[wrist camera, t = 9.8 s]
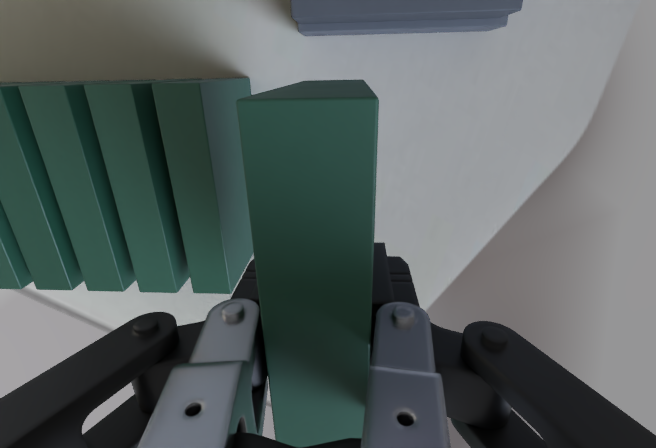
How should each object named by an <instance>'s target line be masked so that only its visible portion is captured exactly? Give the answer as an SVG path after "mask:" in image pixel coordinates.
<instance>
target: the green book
mask: <svg viewBox="0 0 656 448" xmlns="http://www.w3.org/2000/svg"><path fill="white" fill-rule="evenodd" d="M236 107H237V115H238V124H239V132H240V141H241V150H242V158H243V167H244V175H245V184H246V192H247V201H248V209H249V218H250V226H251V235H252V243H253V252H254V260H255V269H256V277H257V286H258V294H259V303H260V311H261V320H262V328H263V337H264V345H265V354H266V362H267V371H268V379H269V388H270V396H271V405H272V413H273V422H274V430H275V439H276V441H279V442H282V443H285V444H288V445H291V446H294V447H307V446H312V445H317V444H322V443H327V442H332V441H337V440H342V439H347V438H362V430H363V421H364V412H365V403H366V394H367V385H368V376H369V367H370V344H371V314H372V284H373V255H374V225H375V196H376V166H377V136H378V107H379V100H378V97H377V96H376V95H375V94H374V92H373V91H372V90H371V89H370V87H369V86H368V85H367V84H366V82H365V81H364V80H324V81H303V82H299V83H295V84H292V85H288V86H284V87H281V88H277V89H273V90H270V91H266V92H262V93H259V94H255V95H251V96H248V97H244V98H240V99H238V100H237V101H236Z"/></svg>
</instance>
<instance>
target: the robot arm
mask: <svg viewBox="0 0 656 448" xmlns="http://www.w3.org/2000/svg"><path fill="white" fill-rule="evenodd" d="M267 376H268V371H267V362H266V354H265V345H264V337H263V328H262V320H261V311H260V303H259V294H258V286H257V277H256V269H255V260H254V259H253V260H252V261H251V262H250V263H249V265H248V267H247V269H246V272H245V273H244V274H243V276H242V279H241V280H240V282H239V284H238V286H237V288H236V289H235V291H234V293H233V295H232V297H231V299H229V300H226V301H223V302H221V303H219V304H217V305H216V306H214V307H213V308H212V309H211V310H210V311H209V313H208V315H207V318H206V320H205V321H202V322H198V323H192V324H187V325H182V326H177V324H176V320H175V318H174V316H173V315H171V314H169V313H165V312H153V313H148V314H144V315H141V316H138V317H136V318H134V319H132V320H130V321H129V322H127V323H125V324H124V325H122V326H120V327H119V328H117V329H115V330H114V331H112V332H110V333H109V334H107V335H105V336H104V337H102V338H100V339H99V340H97V341H95V342H94V343H92V344H90V345H89V346H87V347H85V348H84V349H82V350H80V351H79V352H77V353H76V354H74V355H72V356H70V357H69V358H67V359H65V360H64V361H62V362H61V363H59V364H57V365H56V366H54V367H52V368H50V369H49V370H47V371H45V372H44V373H42V374H40V375H39V376H37V377H36V378H34V379H32V380H30V381H29V382H27V383H25V384H24V385H22V386H21V387H19V388H17V389H16V390H14V391H12V392H11V393H9V394H7V395H5V396H4V397H2V398H0V448H451V446H450V439H449V430H448V423H447V417H449V418H451V421H452V424H453V425H454V427H455V428H456V430H457V431H458V432H459V434H460V435H461V436H462V437H463V438H464V440H465V441H466V442H467V443H468V444H469V446H470V447H471V448H656V435H654V434H653V433H651V432H650V431H649V430H647V429H646V428H645V427H643V426H642V425H641V424H639V423H638V422H637V421H635V420H634V419H632V418H631V417H630V416H628V415H627V414H626V413H624V412H623V411H622V410H620V409H619V408H618V407H616V406H615V405H614V404H612V403H611V402H609V401H608V400H607V399H605V398H604V397H603V396H601V395H600V394H599V393H597V392H596V391H595V390H593V389H592V388H590V387H589V386H588V385H586V384H585V383H584V382H582V381H581V380H580V379H578V378H577V377H576V376H574V375H573V374H571V373H570V372H569V371H567V370H566V369H565V368H563V367H562V366H561V365H559V364H558V363H557V362H555V361H554V360H552V359H551V358H550V357H549V356H547V355H546V354H544V353H543V352H542V351H540V350H539V349H537V348H536V347H535V346H534V345H532V344H531V343H530V342H528V341H527V340H526V339H524V338H523V337H521V336H520V335H518V334H517V333H516V332H515V331H513V330H511V329H510V328H508V327H506V326H503V325H501V324H498V323H494V322H488V321H479V322H474V323H471V324H469V325H468V326H466V328H465V329H464V332H463V333H459V332H455V331H451V330H447V329H444V328H441V327H439V326H436V325H434V324H433V323H431V322H430V318H429V316H428V314H427V313H426V312H425V311H424V310H423V309H422V308H420V306H419V303H418V299H417V295H416V292H415V288H414V285H413V282H412V277H411V275H410V270H409V266H408V264H407V263H406V262H405V261H404V260H403V259H402V258H401V257H390V256H387V255H386V249H385V243H374V255H373V284H372V314H371V344H370V367H369V376H368V385H367V394H366V403H365V412H364V421H363V430H362V438H347V439H342V440H337V441H332V442H327V443H322V444H317V445H312V446H307V447H294V446H291V445H288V444H285V443H282V442H279V441H275V440H272V439H269V438H266V437H263V436H262V432H263V424H264V416H265V408H266V399H267V391H268V379H267ZM130 382H131V383H132V386H133V389H134V392H135V394H134V395H133V396H132V397H130V398H129V399H128V400H127V401H125V402H124V403H123V404H122V405H120V406H119V407H118V408H116V409H115V410H114V411H113V412H111V413H110V414H109V415H107V416H106V417H105V418H104V419H102V420H101V421H100V422H99V423H97V424H96V425H95V426H93V427H92V428H91V429H89V430H88V431H87V432H86V433H84V434H83V435H82V425H83V423H84V421H85V419H86V417H87V416H88V415H89V414H90V413H91V412H92V411H93V410H94V409H95V408H97V407H98V406H99V405H101V404H102V403H103V402H105V401H106V400H107V399H109V398H110V397H111V396H113V395H114V394H115V393H117V392H118V391H119V390H121V389H122V388H124V387H125V386H126V385H127V384H129V383H130ZM511 408H513V409H514V410H515V411H517V412H518V413H519V415H521V416H522V417H523V418H524V419H525V420H526V421H527V422H528V423H529V424H530V425H531V426H532V427H533V428H534V429H535V430H536V431H537V432H538V433H539V434H540V435H541V437H542V438H543V440H542V439H541V438H540V437H539V436H538V435H537V434H536V433H535V432H534V431H533V430H532V429H531V428H530V427H529V426H528V425H527V424H526V423H525V422H524V421H523V420H522V419H521V418H520V417H519V416H518V415H517V414H515V412H514V411H513V410H512V409H511Z"/></svg>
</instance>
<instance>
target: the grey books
mask: <svg viewBox="0 0 656 448" xmlns="http://www.w3.org/2000/svg"><path fill="white" fill-rule="evenodd" d="M522 3H523V0H291V16H292V18H293V19H295V20H296V21H297V22H298V32H300V33H301V34H303V35H304V36H324V35H360V34H396V33H432V32H468V31H490V30H493V29H497V28H501V27H504V26H506V25H507V20H508V15H509V14H511V13H514V12H517V11H520V10H521V8H522Z"/></svg>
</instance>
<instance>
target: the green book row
mask: <svg viewBox="0 0 656 448" xmlns="http://www.w3.org/2000/svg"><path fill="white" fill-rule="evenodd" d="M248 96H251V89H250V79H249V78H215V79H166V80H119V81H109V80H108V81H71V82H65V81H58V82H23V83H22V82H8V83H0V289H22V288H24V287H25V286H27V285H28V284H30V283H31V282H33V281H34V284H35V286H36V288H37V289H40V290H73V289H74V288H75V287H77V286H78V285H79V284H81V283H82V282H83V281H85V284H86V287H87V290H88V291H125V290H126V289H127V288H128V287H129V286H130V285H131V284H132V283H133V282H134V281H135V280H136V279H137V283H138V286H139V290H140V292H164V293H177V292H178V291H179V290H180V288H181V287H182V286H183V285H184V283H185V282H186V281H187V279H188V278H189V277H190V278H191V283H192V288H193V292H194V293H218V294H231V293H232V291H233V289H234V287H235V286H236V284H237V282H238V280H239V278H240V276H241V275H242V273H243V271H244V269H245V267H246V265H247V264H248V262H249V260H250V258H251V256H252V254H253V243H252V235H251V226H250V218H249V209H248V201H247V192H246V184H245V175H244V167H243V158H242V150H241V141H240V132H239V124H238V115H237V107H236V101H237V100H238V99H240V98H244V97H248Z"/></svg>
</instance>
